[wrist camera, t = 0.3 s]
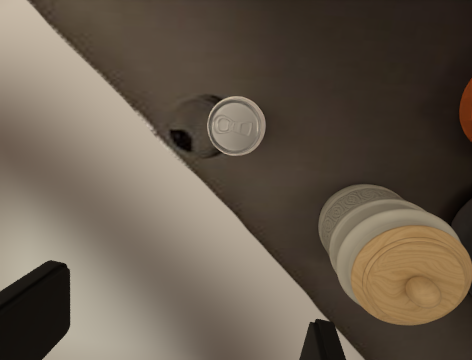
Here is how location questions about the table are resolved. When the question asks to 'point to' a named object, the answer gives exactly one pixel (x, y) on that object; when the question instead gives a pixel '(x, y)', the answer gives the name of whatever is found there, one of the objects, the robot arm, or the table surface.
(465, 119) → the pot
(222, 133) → the can
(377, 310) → the jar
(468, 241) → the casserole
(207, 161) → the table surface
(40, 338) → the robot arm
